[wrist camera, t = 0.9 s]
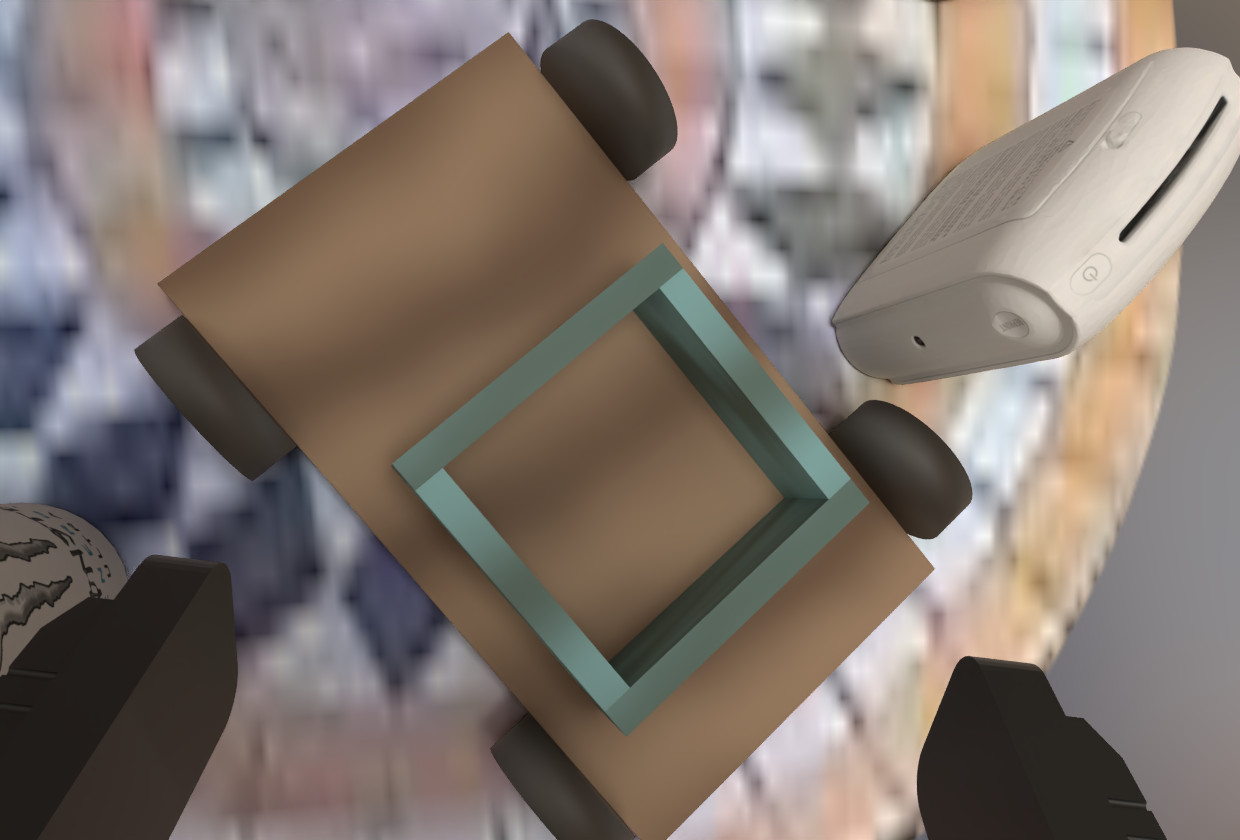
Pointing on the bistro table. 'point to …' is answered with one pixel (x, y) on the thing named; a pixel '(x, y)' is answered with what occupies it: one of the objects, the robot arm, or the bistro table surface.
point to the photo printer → (1049, 226)
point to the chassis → (560, 429)
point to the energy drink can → (48, 570)
